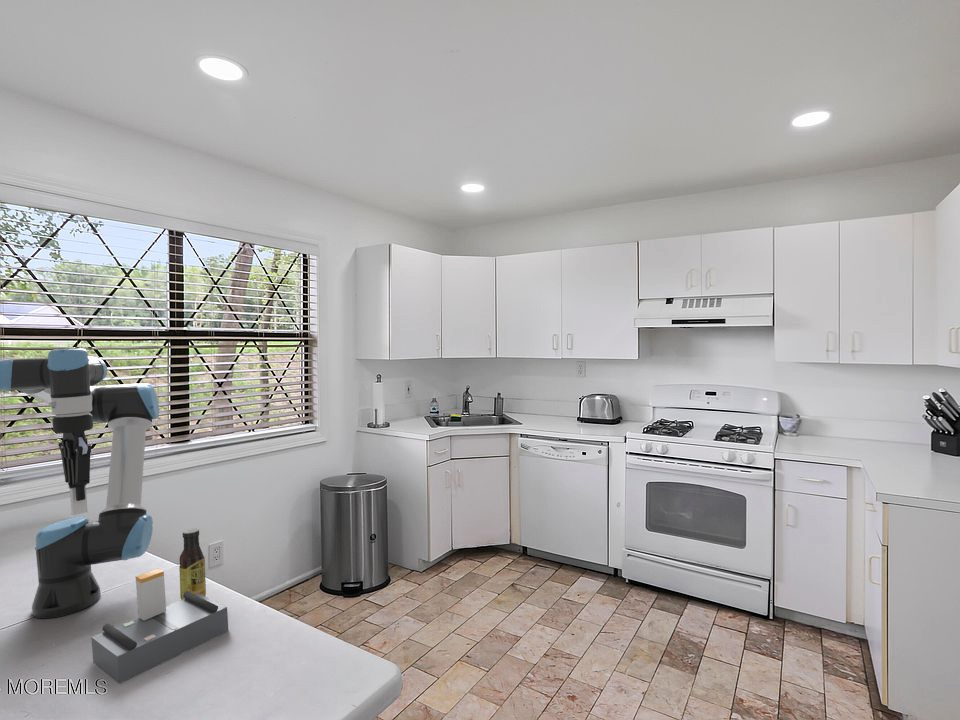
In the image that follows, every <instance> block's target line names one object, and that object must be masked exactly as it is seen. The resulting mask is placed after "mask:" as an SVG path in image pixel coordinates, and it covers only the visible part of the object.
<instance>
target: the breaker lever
mask: <svg viewBox="0 0 960 720" xmlns="http://www.w3.org/2000/svg"><path fill="white" fill-rule="evenodd" d="M135 585H136V586H135V588H136V589H135V590H136V603H137V615H138V616H137V618H140V619H142V620H147V619H149V618H152V617H154V616H156V615H159V614H161V613H163V612H166V606H167V603H166V588H165V587H166V585H165V571H164V570H162V569H159V568H156V569H152V570H150V571H147V572H143V573H141V574H139V575H136V576H135Z"/></svg>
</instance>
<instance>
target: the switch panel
mask: <svg viewBox="0 0 960 720" xmlns="http://www.w3.org/2000/svg"><path fill="white" fill-rule="evenodd" d="M195 595H196V596H198V597H200V598H202V599H204V600H207V601H209V602H211V603H213V604H215V605H217V606H218V610H217V611H216V612H214V613H213V612H211V611H209V610H207V609H205V608H203V607H201V606H199V605H198V604H196V603H194V602H192V601H190V600H188V599H186V598H185V599H182V600H181V599H180V600H177V601H176V602H173V603H171V604H167V605H166V612H163V613H161V614H159V615H156V616H154V617H152V618H149V619H147V620H142V619H140V618H139V617H137V618H134V619H132V620H129V621H127V622H125V623H122V624H119V625H117V626H114V627H115V628H116V629H117V630H119V631H120V632H122V633H123V634H125V635H126V636H128V637H129V638H131V639H132V640H134V641H135V642H136V643H137V646H136V647H135V648H134V649H133V650H130V649H128V648H127V647H126V646H124V645H123V644H121V643H120V642H119V641H117V640H116V639H114V638H113V637H112V636H110V635H109V634H107V633H106V632H104V631H103V632H100V633H97V634H95V635H93V636H90V637H91V651H92V653H91V654H92V663H93V664H94V665H95V666H96V667H97V668H99V670H101V671H103V673H105V674H106V675H108V676H109V677H110V678H111V679H112V680H113V681H115V682H116V683H117V684H118V685H120V684H122V683H125V682H126V681H129V680H131V679H133V678H134V677H137V676H139V675H141V674H143V673H145V672H147V671H149V670H150V669H153V668H155V667H157V666H159V665H161V664H163V663H165V662H167V661H169V660H171V659H174V658H176V657H177V656H180V655H182V654H184V653H185V651H186V652H187V650H188V651H190V650H192V649H194V648H196V647H198V646H200V645H202V644H204V643H206V642H208V641H210V640H212V639H215V638H216V637H219V636H220V635H223V634H224V633H227V632H229V631H228V630H229V619H228V617H229V616H228V607H227V606H226V605H224V604H222V603H220V602H219V601H215V600H214V599H212V598H210V597H207V596H204V595H202V594H200V593H197V594H195ZM226 631H227V632H226ZM193 647H194V648H193ZM191 648H192V649H191ZM189 649H190V650H189ZM183 652H184V653H183ZM181 653H182V654H181Z"/></svg>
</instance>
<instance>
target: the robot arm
mask: <svg viewBox="0 0 960 720" xmlns="http://www.w3.org/2000/svg"><path fill="white" fill-rule="evenodd" d="M88 354H89V352H88V350H87V349H85V348H65V349H64V348H63V349H51V350H50V351H49V352H48V353H47V358H46V357H41V358H39V357H38V358H17V359H16V358H10V359H0V392H2V391H4V392H5V391H6V392H11V391H19V392H21V393H24V394H26V395H28V396H30V397H33V398H35V399H37V400H39V401H42V402H44V403H46V404H48V406H49V407H51V414H52V415H54V417H53V418H51V419H52V421H51V422H52V431H53V434H62V440H60V441H61V442H58V448H59V450H60V455H61V461H62V469H63V475H64V482H65V483H68V484H67V485H68V488H69V495H70V496H69V497H70V508H71V509H70V510H71V515H72V516H74V517H72V518H67V519H64V520H61V521H58V522H55V523H54V522H53V523H52V524H49V525H47V526H45V527H43V528H42V529H40V530H39V531H38V532H37V533H36V536H35V547H34V550H35V554H36V557H35V558H36V567H37V568H36V569H37V576H38V577H37V579H38V580H37V581H38V586H37V589H36V592H35V595H34V598H33V601H32V605H31V613H32V616H33V617H34V618H37V619H53V618H59V617H60V618H61V617H63V616H67V615H71V614H74V613H77V612H80V611H82V610H84V609H86V608H89V607H90V606H92V605H94V604H96V603H97V602H98V601H99V600H100V598H101V597H102V596H101V587H100V585H99V584H98V581H97V579H96V578H95V577H96V576H95V575H94V574H93V572H92V565H98V564H99V565H100V564H105V563H112V562H119V561H127V560H130V559H135V558H140V557H141V556H143V555H145V553H146V552H147V550H149V549H148V548H149V545H150V544H151V540H152V536H153V535H152V534H153V530H154V529H153V524H154V523H153V522H154V521H153V518H152V515H150V514H147V509H146V508H145V507H144V506H143V505H142V496H143V495H142V494H143V492H142V491H143V477H144V462H145V449H146V433H147V430H148V429H150V428H151V427H152V425H153V420H157V419H158V418H159V416H160V406H159V405H160V404H159V401H158V396H157V392H156V390H155V387H154V386H153V385H152V384H149V383H130V384H129V383H126V384H112V385H97V384H99V383H101V382H103V381H104V380H105V378H107V377H106V376H107V375H108V366H107V365H106V363H105V362H104V360H103V359H101V358H99V357H97V356H92V355H88ZM94 423H98V424H99V423H100V424H101V423H103V424H104V423H107V426H108V428H110V429H111V430H112V438H111V439H112V441H111V451H110V458H109V459H110V462H109V470H108V471H109V473H108V483H107V491H106V492H107V494H106V502H105V503H106V504H105V505H106V506H105V508H103V510H101V511H100V512H99V514H98V520H96V521H90V522H89V520H90V519H88V517H86V516H78V515H83V514H85V513H88V511H89V510H88V500H87V487H86V486H87V485H88V484H90V482H91V479H90V478H91V476H90V475H91V473H90V472H91V452H92V448H93V447H92V445H91V444H88V438H87V437H86V433H85V432H86V431H90V430H93V428H94ZM75 516H77V517H75Z"/></svg>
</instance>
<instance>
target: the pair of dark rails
mask: <svg viewBox="0 0 960 720" xmlns="http://www.w3.org/2000/svg"><path fill="white" fill-rule="evenodd" d="M183 597H184V598H186V599H188V600H190V601H192V602H194V603H196V604H198V605H199V606H201V607H203V608H205V609H207V610H209V611H211V612H213V613H214V612H216V611H217V610H218V606H217V605H215V604H213V603H211V602H209V601H207V600H204V599H202V598H200V597H198V596H196V595H194V594H192V593H190V592H188V591H187V592H185V593H184V595H183ZM115 627H116V626H113V625H111V624H110V623H104V625H103V626H102V627H101V629H102V631H103V632H106V633H107V634H109V635H110V636H112V637H113V638H114V639H116V640H117V641H119V642H120V643H121V644H123V645H124V646H126V647H127V648H128V649H130V650H133V649H134V648H135V647H136V646H137V643H136V642H135V641H134V640H132V639H131V638H129V637H128V636H126V635H125V634H123V633H122V632H120V631H119V630H117V629H116V628H115Z"/></svg>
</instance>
